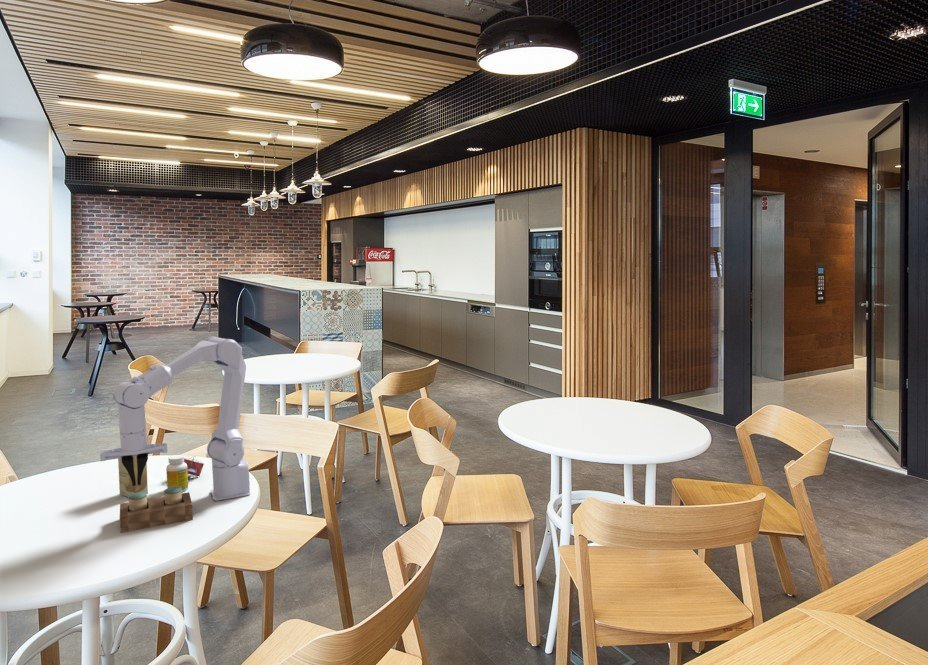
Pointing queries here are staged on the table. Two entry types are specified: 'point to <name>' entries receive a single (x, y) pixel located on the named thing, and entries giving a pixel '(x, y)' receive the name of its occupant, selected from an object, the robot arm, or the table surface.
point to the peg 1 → (137, 501)
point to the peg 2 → (173, 495)
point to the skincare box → (125, 479)
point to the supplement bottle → (177, 472)
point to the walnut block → (155, 513)
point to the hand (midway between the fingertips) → (136, 484)
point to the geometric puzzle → (193, 467)
